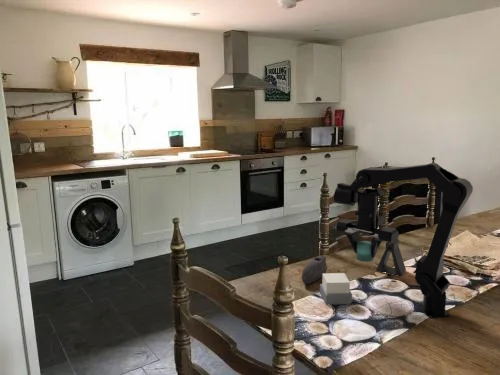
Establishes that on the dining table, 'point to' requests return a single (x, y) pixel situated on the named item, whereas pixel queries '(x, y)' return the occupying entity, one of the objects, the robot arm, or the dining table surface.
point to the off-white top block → (335, 283)
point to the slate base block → (335, 297)
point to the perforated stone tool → (314, 269)
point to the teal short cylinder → (364, 251)
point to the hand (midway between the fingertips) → (364, 255)
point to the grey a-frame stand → (397, 259)
